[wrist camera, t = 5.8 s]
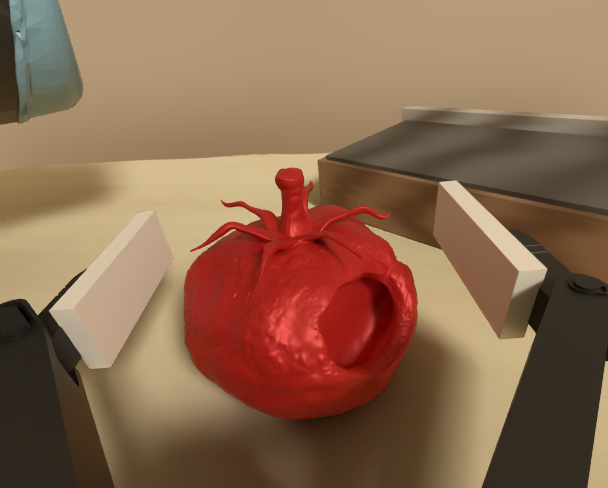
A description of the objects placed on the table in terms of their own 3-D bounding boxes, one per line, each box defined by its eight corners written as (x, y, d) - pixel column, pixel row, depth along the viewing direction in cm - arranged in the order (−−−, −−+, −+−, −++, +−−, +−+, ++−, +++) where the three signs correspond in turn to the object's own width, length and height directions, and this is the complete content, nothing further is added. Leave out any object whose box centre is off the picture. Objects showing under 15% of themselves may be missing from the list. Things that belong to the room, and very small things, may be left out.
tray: (322, 209, 30) (316, 143, 27) (405, 161, 38) (408, 106, 35) (610, 305, 17) (663, 200, 14) (646, 202, 25) (685, 120, 22)
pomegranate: (166, 426, 14) (58, 242, 9) (256, 280, 22) (223, 139, 17) (410, 488, 11) (438, 270, 7) (413, 295, 19) (426, 132, 15)
